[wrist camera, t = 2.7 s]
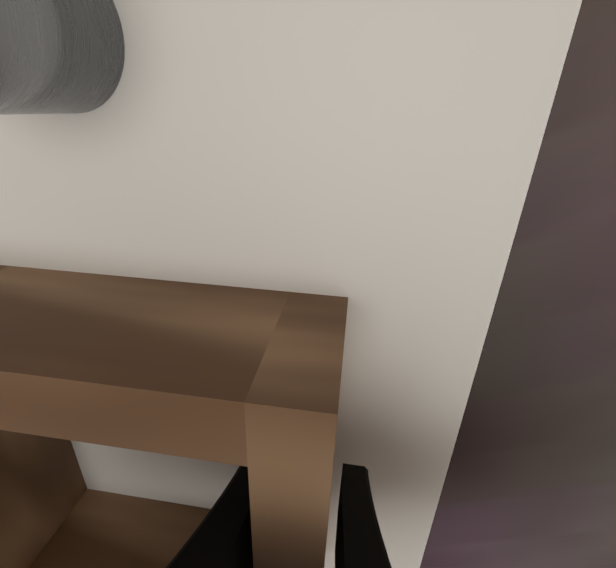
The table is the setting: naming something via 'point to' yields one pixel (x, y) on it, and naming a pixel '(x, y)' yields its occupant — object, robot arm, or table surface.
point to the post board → (291, 192)
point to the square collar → (162, 412)
